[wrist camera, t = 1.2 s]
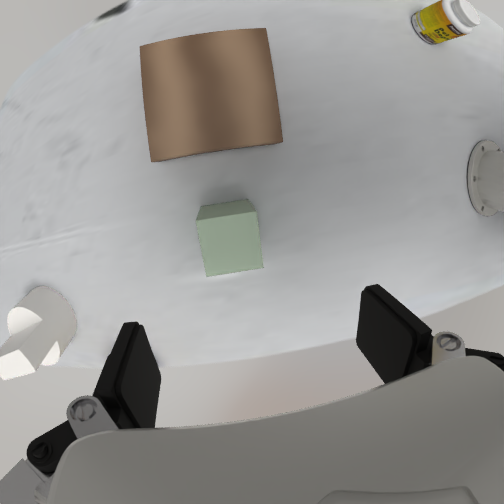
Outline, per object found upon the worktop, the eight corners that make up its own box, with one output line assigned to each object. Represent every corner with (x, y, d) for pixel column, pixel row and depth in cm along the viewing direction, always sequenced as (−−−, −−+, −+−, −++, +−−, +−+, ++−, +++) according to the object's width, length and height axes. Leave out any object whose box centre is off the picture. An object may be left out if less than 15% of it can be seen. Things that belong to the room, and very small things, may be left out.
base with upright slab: (53, 276, 29) (3, 324, 18) (88, 332, 32) (54, 391, 21) (19, 297, 29) (-25, 341, 18) (51, 346, 32) (18, 398, 21)
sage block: (247, 199, 29) (256, 211, 23) (253, 243, 31) (263, 267, 24) (200, 206, 29) (195, 220, 22) (208, 250, 31) (206, 276, 24)
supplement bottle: (415, 40, 24) (463, 21, 14) (406, 9, 22) (449, -14, 12) (441, 49, 24) (488, 36, 15) (432, 19, 22) (476, 2, 13)
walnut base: (260, 42, 24) (265, 28, 20) (274, 144, 28) (283, 141, 24) (149, 59, 23) (139, 46, 19) (160, 161, 27) (151, 162, 23)
